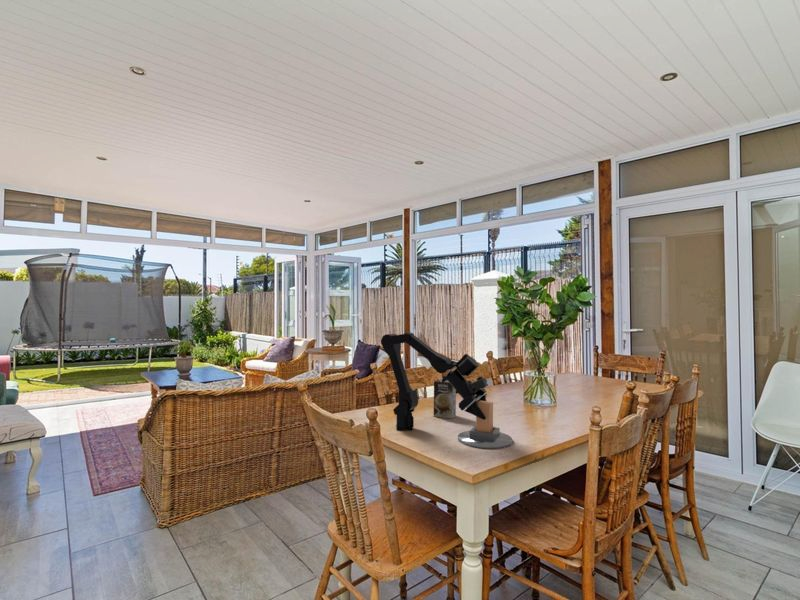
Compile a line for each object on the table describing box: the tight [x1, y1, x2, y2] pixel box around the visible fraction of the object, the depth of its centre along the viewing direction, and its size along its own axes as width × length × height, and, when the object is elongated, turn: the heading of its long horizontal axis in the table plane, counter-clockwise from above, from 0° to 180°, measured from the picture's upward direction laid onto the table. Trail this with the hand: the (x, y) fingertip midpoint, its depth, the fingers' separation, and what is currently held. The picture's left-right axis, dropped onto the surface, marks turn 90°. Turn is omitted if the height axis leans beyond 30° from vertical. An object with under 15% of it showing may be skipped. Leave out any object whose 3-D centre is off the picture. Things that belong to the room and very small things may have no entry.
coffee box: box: [433, 379, 457, 419], centre depth 197 cm, size 9×6×16 cm
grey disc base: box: [457, 425, 513, 450], centre depth 162 cm, size 20×20×4 cm
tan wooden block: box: [475, 400, 494, 433], centre depth 162 cm, size 5×5×13 cm
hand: (488, 416), depth 161 cm, fingers open, 9 cm apart
